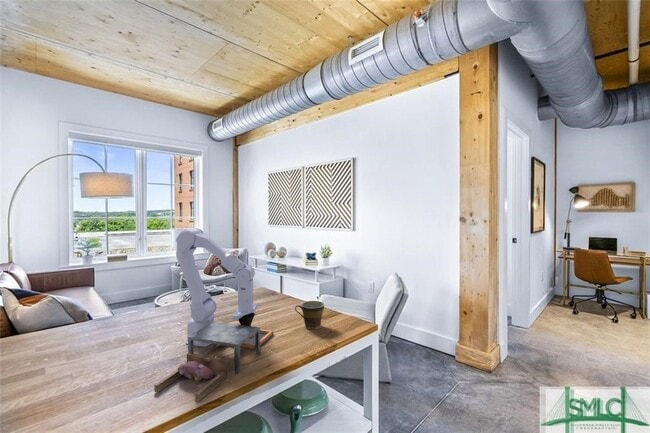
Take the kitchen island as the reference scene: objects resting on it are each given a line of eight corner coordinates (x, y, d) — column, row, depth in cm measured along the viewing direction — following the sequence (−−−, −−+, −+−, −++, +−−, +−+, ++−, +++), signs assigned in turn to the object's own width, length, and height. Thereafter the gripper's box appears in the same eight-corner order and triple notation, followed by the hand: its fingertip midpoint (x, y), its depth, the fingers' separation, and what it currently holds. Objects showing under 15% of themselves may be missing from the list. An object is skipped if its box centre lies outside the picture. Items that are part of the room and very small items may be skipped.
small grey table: (188, 364, 101) (187, 336, 101) (215, 346, 115) (214, 321, 114) (237, 374, 96) (237, 344, 95) (260, 353, 109) (259, 327, 109)
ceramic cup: (325, 322, 138) (325, 301, 137) (323, 332, 128) (323, 308, 127) (297, 321, 139) (297, 300, 139) (292, 330, 129) (292, 307, 129)
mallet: (154, 391, 86) (154, 370, 86) (227, 341, 119) (227, 325, 118) (198, 402, 82) (198, 379, 81) (261, 346, 114) (261, 329, 114)
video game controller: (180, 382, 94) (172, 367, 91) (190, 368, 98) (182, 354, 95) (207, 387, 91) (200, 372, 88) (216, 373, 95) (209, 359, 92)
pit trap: (225, 345, 116) (225, 341, 116) (245, 330, 129) (245, 327, 129) (255, 349, 112) (255, 345, 112) (273, 334, 125) (273, 330, 125)
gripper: (244, 304, 109) (244, 342, 109) (264, 293, 123) (264, 326, 123) (227, 302, 111) (227, 339, 112) (248, 292, 125) (249, 324, 125)
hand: (246, 332), depth 118 cm, fingers closed
